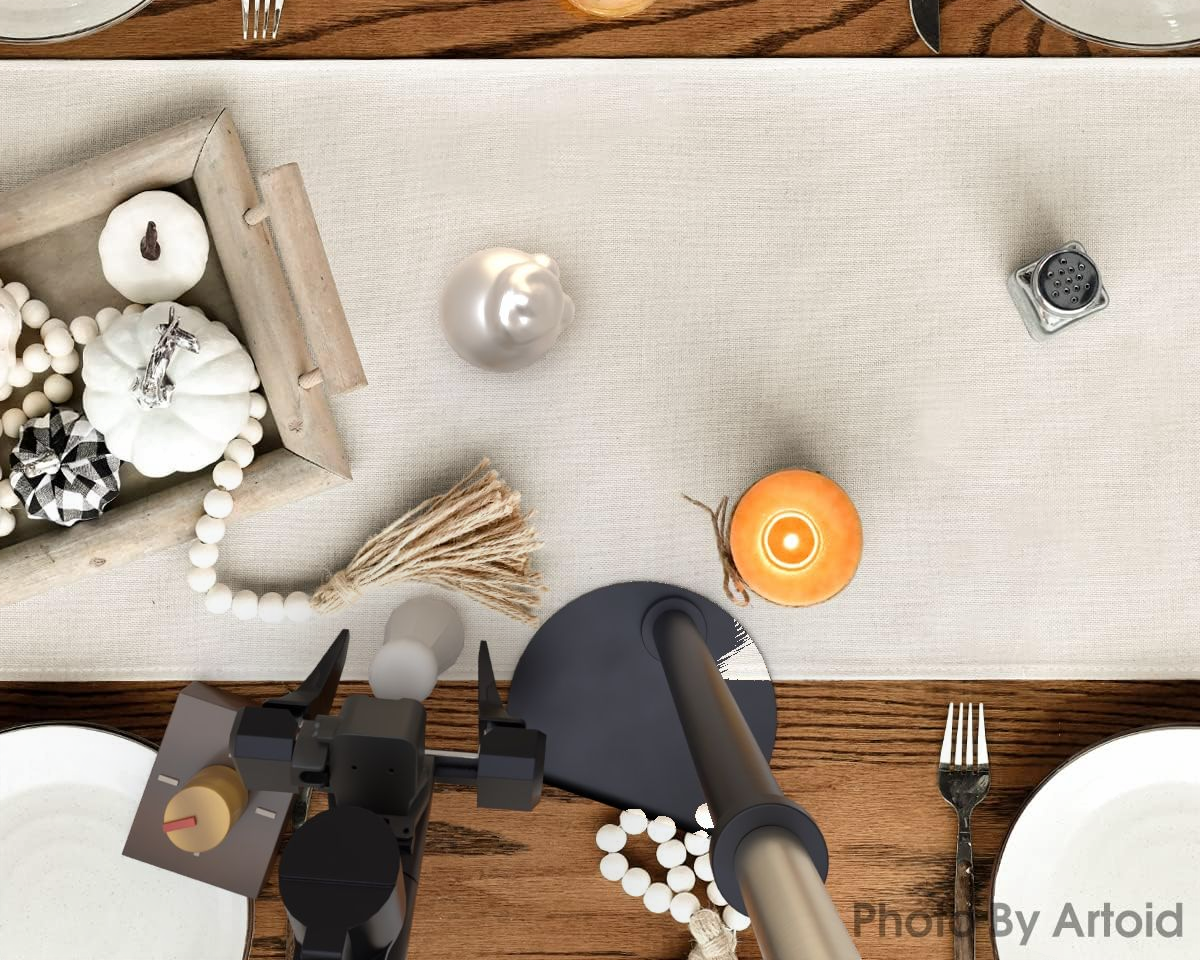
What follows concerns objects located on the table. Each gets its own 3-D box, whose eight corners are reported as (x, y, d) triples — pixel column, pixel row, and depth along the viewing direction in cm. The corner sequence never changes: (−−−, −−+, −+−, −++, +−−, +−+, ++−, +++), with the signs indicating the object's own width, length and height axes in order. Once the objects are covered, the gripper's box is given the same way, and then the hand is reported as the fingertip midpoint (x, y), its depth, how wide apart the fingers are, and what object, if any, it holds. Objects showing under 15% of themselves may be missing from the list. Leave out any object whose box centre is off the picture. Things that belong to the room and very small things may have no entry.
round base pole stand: (725, 888, 77) (1001, 1797, 27) (469, 802, 77) (278, 1561, 27) (811, 631, 78) (1233, 1060, 28) (558, 544, 78) (531, 822, 28)
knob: (242, 758, 74) (221, 781, 69) (254, 820, 73) (234, 847, 69) (180, 772, 73) (155, 796, 69) (192, 834, 73) (168, 861, 69)
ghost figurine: (554, 389, 78) (552, 389, 68) (432, 355, 78) (411, 350, 68) (587, 273, 78) (589, 256, 68) (465, 238, 78) (450, 217, 68)
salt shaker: (377, 608, 77) (338, 652, 64) (449, 577, 77) (424, 615, 64) (408, 681, 77) (375, 740, 64) (480, 650, 77) (461, 702, 64)
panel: (268, 880, 76) (255, 901, 73) (138, 836, 76) (119, 856, 73) (323, 723, 77) (313, 738, 74) (194, 679, 77) (178, 692, 73)
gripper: (538, 836, 53) (560, 580, 65) (172, 808, 53) (258, 554, 64) (530, 913, 61) (551, 672, 72) (210, 888, 61) (281, 650, 72)
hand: (415, 637), depth 70 cm, fingers open, 9 cm apart
